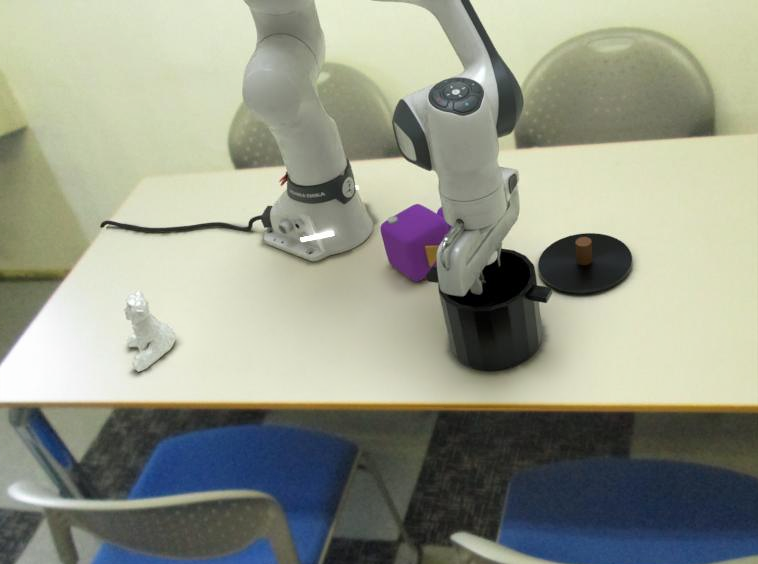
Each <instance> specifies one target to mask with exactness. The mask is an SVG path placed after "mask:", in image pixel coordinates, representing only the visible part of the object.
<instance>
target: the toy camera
mask: <svg viewBox="0 0 758 564" xmlns="http://www.w3.org/2000/svg"><path fill="white" fill-rule="evenodd" d="M379 228H380V234H381V239H382V243H383V246H384V250H385V254H386V257H387V260H388V263H389V264H390V265H391V266H392V267H393V268H395V269H396V270H397V271H399V272H400V273H402V274H403V275H404V276H406V277H407V278H409V279H411V280H412V281H414V282H420V281H422V280H423V279H426V275H427V273H428V272H429V271H430V269H431V268H432V267H437V250H438V247H439V245H440V244H441V242H442V241H443V238H444V237H445V235H446V234H448V233H449V231H450V229H451V228H452V226H450V225H449V224H448V223H447V222H446V221H445V219H444V215H443V210H442V206H440V207H439V208H438V209H437V212H435V211H433V210H431V209H430V208H428V207H426V206H425V205H423V204H420V203H415V204H413V205H410V206H409V207H407V208H405V209H403V210H402V211H400V212H398V213H397V214H395V215H392V216H389V217H388V218H387V219H386V220H385V221H384V222H382V223H381V224H380V227H379Z"/></svg>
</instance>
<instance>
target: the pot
mask: <svg viewBox="0 0 758 564" xmlns="http://www.w3.org/2000/svg"><path fill="white" fill-rule="evenodd" d="M425 280H426V282H431V283H435V284H436V283H437V287H438V288H437V289H438V294H439V299H440V303H441V308H442V313H443V317H444V322H445V327H446V330H447V336H448V339H449V345H450V349H451V351H452V353H453V355H454V357H455V358H456V359H457V361H459V362H460V363H461V364H462V365H464V366H466V367H468V368H470V369H473V370H476V371H481V372H499V371H501V372H502V371H505V370H510V369H513V368H515V367H518V366H520V365H522V364H524V363H525V362H527V361H528V360H530V359H531V357H533V356H534V355H535V354H536V353H537V351H538V349H539V348H540V346H541V344H542V339H543V326H542V318H541V317H542V316H541V308H540V303H543V304H547V303H548V302H549V300H550V298H551V297H552V295H553V287H551V286H550V287H549V286H544V285H538V280H537V272H536V267H535V265H534V263H533V262H532V261H531V260H530V259H529V257H527V256H526V255H525V254H523V253H521V252H518V251H516V250H513V249H508V248H503V247H502V248H501V253H500V267H499V268H498V295H499V298H498V299H497V301H496V302H495V303H493V304H491V305H483V304H481V303H479V302H478V299H477V296H476V294H473V293H472V292H471V290H470V289H469V290H468V292H467V293H466V295H464V296H455V295H450V294H446V293H444V292H442V291H441V289H440V286H439V280H438V272H437V267H432V268H431V269H430V271H429V272H428V273H427V275H426V277H425Z"/></svg>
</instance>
